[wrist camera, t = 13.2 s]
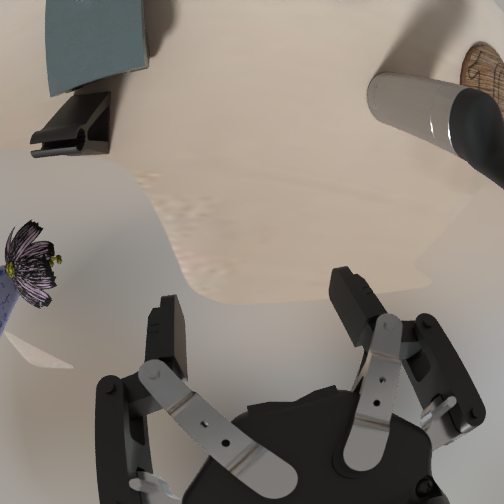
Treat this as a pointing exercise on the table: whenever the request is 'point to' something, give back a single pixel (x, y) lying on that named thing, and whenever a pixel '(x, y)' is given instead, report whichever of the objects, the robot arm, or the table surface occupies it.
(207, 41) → the table surface
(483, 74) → the trivet
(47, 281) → the decorative flower
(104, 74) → the trolley
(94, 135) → the triangular clip stand
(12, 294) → the aerosol can
